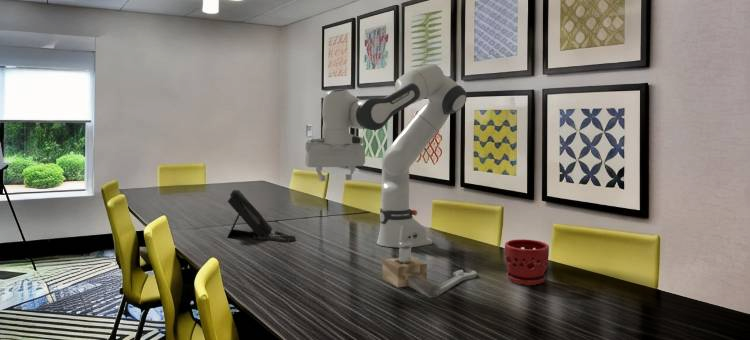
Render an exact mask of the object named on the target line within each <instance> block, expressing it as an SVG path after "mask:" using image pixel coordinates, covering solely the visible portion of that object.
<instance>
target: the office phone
mask: <svg viewBox="0 0 750 340" xmlns="http://www.w3.org/2000/svg"><path fill="white" fill-rule="evenodd" d="M229 196H230V198H228V200H227V203H228V204H229V205H230V207H231V208H232V209H233V210H234V211H235V212H236V213H237V216H236V218H235V220H234V222H233V225H232V226H231V229H230V231H229V233H228V235H227V237H229V235H231V234H232V232H233V230H234V229H235V227H236V224H237V221H238V220H239V218H241V219H242V220H243V221H244V222H245V223H246V224H247V225H248V227H250V229H251V230H252V231H253V233H254V234H255V235H253V238H254V239H256V240H259V241H274V242H275V241H276V242H282V243H289V242H294V241H296V236H294V235H288V234H285V233H282V232H281V231H278V230H277V231H274V233H272V229H273V228H272V226H271V225H270V223H268V221H267V220H266V219H265V218H264V217H263V215H262V214H261V213H260V212H259V211H258V210H257V209H256V208H255V206H254V205H253V204H252V203H251V202H250V201H249V200H248V198H246V196H245V195H244V194H243V193H242V192H241V191H240V190H239V189H233V190H232V191H231V193H230V195H229ZM270 235H272V236H270ZM273 235H276V236H280V237H275V236H273Z"/></svg>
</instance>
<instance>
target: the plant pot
mask: <svg viewBox="0 0 750 340" xmlns="http://www.w3.org/2000/svg"><path fill="white" fill-rule="evenodd" d="M549 253H550V245H548V244H547V243H546V242H543V241H541V240H534V239H512V240H511V239H510V240H508V241H506V242H505V243H504V259H505V264H506V265H505V266H506V268H507V270H508V271H507V272H506V278H507V279H508V280H509V281H511V282H513V283H515V284H517V283H518V285H522V284H524V285H523V286H537V285H536V284H539V285H540V283H541V284H542V283H544V282H545V281H546V275H545V274H544V273H545V272H546V270H547V267H548V264H549V258H550V257H549V255H550V254H549Z"/></svg>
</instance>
